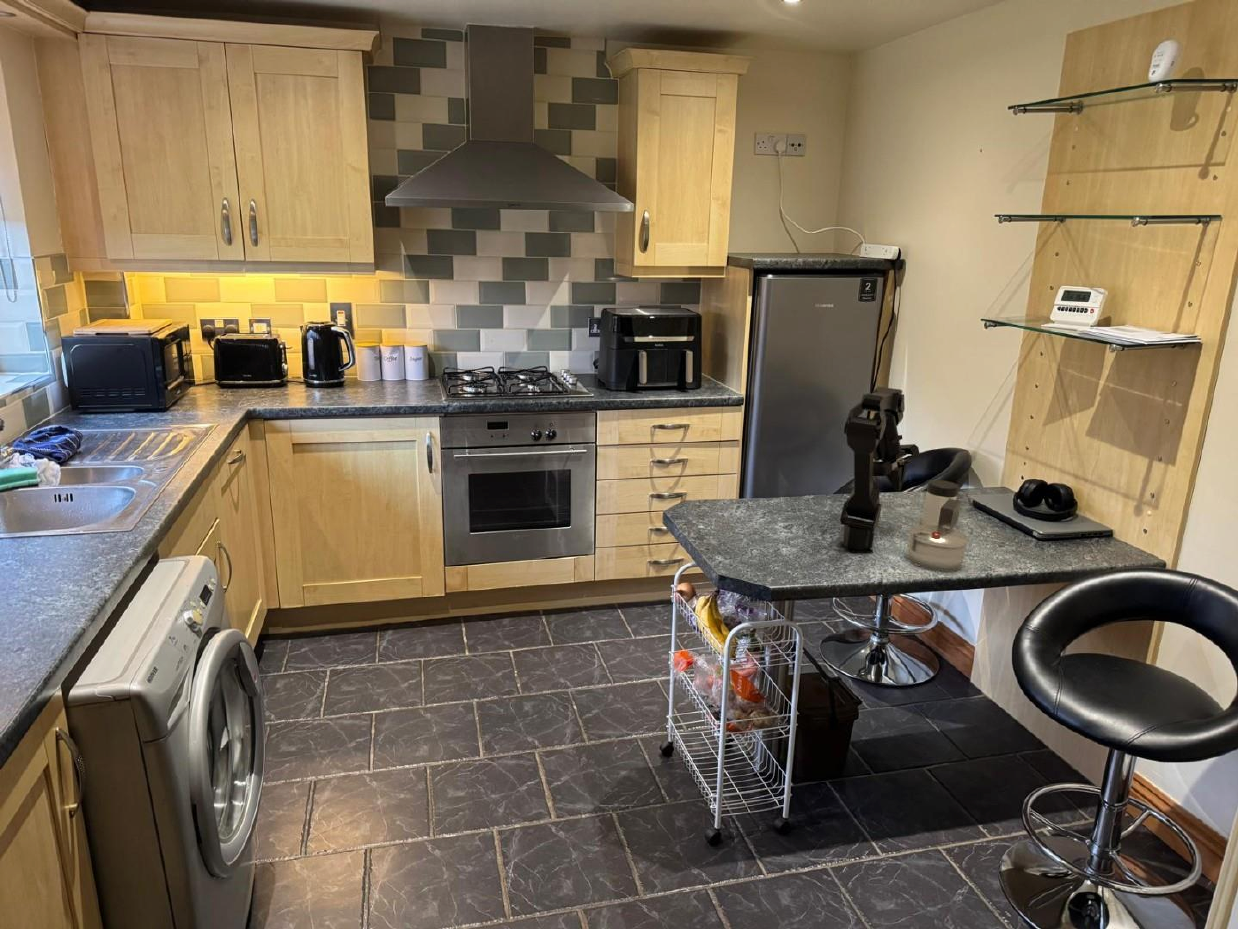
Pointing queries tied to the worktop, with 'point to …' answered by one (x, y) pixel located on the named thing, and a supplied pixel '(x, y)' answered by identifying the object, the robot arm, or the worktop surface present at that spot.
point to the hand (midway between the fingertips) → (898, 490)
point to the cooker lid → (942, 529)
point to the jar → (937, 499)
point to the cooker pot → (935, 556)
